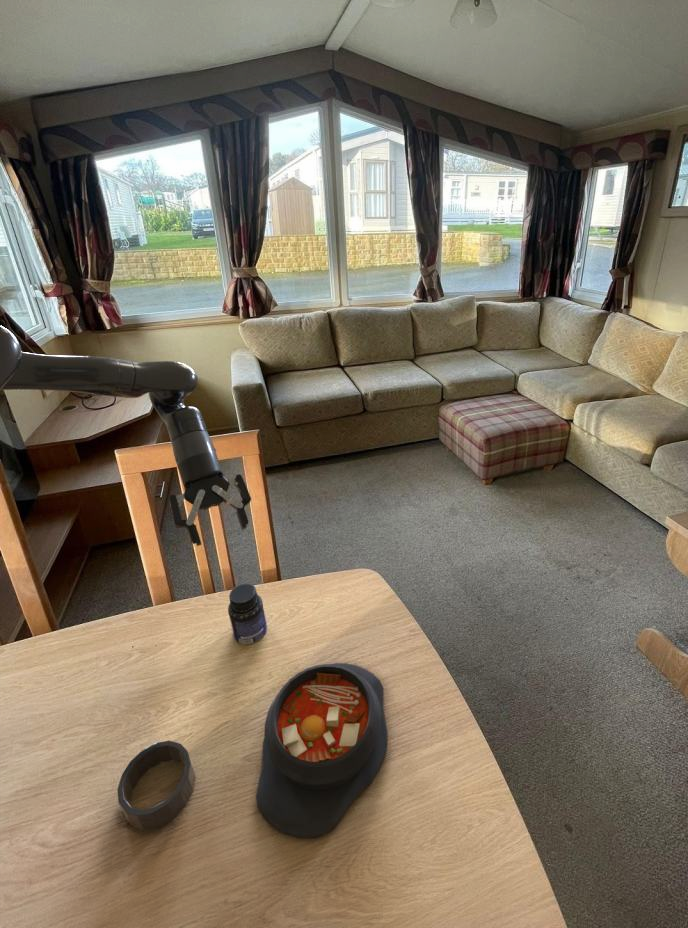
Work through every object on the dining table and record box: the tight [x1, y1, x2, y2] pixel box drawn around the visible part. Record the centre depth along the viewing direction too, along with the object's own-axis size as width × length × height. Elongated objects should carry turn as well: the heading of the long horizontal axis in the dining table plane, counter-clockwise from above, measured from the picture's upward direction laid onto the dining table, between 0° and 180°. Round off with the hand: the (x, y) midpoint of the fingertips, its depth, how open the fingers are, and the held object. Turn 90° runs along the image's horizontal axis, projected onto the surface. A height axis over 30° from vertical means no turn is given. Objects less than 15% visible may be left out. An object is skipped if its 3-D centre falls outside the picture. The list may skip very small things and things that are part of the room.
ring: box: [117, 740, 196, 831], centre depth 66 cm, size 9×9×5 cm
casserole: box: [255, 662, 389, 839], centre depth 71 cm, size 25×19×8 cm
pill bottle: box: [227, 582, 268, 646], centre depth 89 cm, size 6×6×11 cm
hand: (222, 536), depth 92 cm, fingers open, 8 cm apart
